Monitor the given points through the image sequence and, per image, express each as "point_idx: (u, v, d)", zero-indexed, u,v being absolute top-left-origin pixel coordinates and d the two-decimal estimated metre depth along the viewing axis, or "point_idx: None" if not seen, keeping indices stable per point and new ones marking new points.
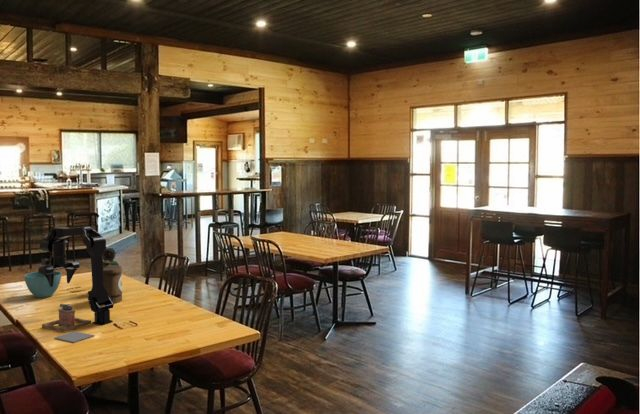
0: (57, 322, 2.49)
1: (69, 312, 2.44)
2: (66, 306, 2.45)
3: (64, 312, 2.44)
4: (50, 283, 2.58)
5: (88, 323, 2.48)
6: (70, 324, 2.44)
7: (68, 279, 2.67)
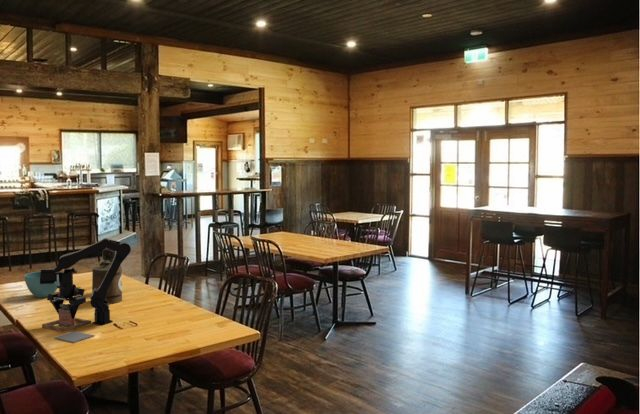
0: (57, 322, 2.49)
1: (69, 312, 2.44)
2: (66, 306, 2.45)
3: (64, 312, 2.44)
4: None
5: (88, 323, 2.48)
6: (70, 324, 2.44)
7: None
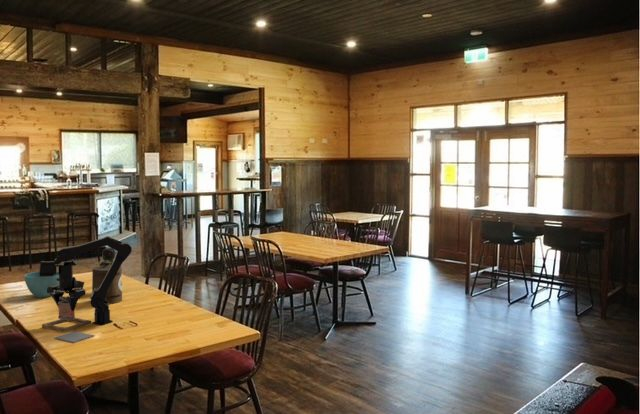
0: (57, 322, 2.49)
1: (69, 305, 2.44)
2: (66, 299, 2.44)
3: (64, 305, 2.44)
4: None
5: (88, 323, 2.48)
6: (70, 317, 2.44)
7: None
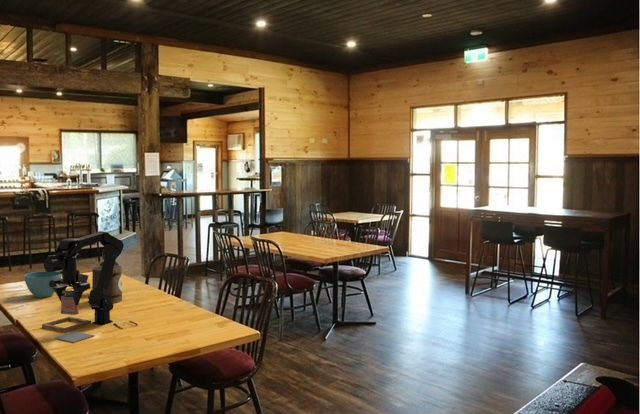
0: (57, 322, 2.49)
1: (72, 299, 2.33)
2: (69, 293, 2.34)
3: (67, 299, 2.33)
4: None
5: (88, 323, 2.48)
6: (73, 311, 2.33)
7: None
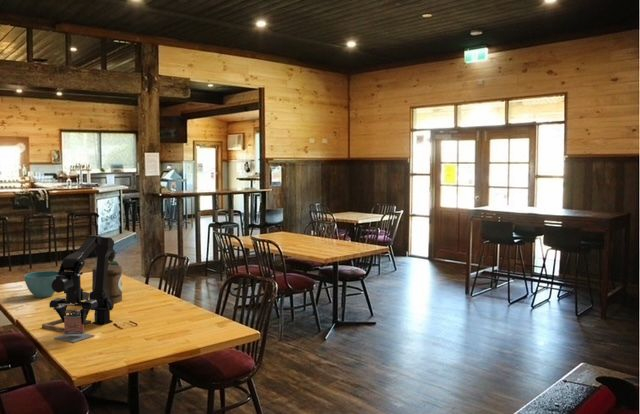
0: (57, 322, 2.49)
1: (78, 318, 2.28)
2: (74, 312, 2.28)
3: (72, 318, 2.28)
4: None
5: (88, 323, 2.48)
6: (79, 331, 2.29)
7: None
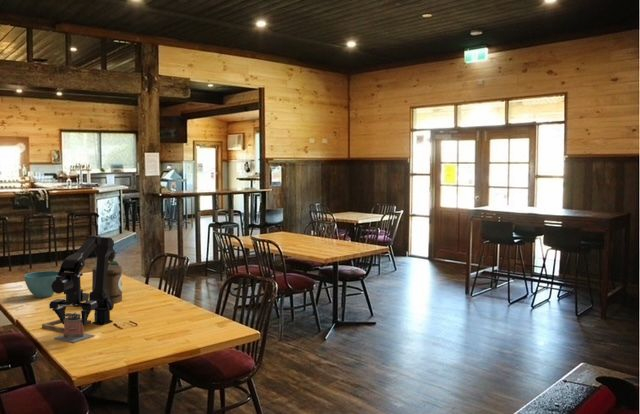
0: (57, 322, 2.49)
1: (78, 321, 2.28)
2: (74, 315, 2.28)
3: (72, 322, 2.28)
4: None
5: (88, 323, 2.48)
6: (79, 334, 2.29)
7: None
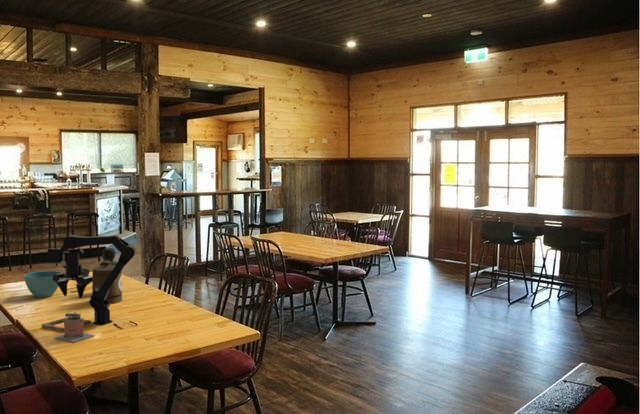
0: (57, 322, 2.49)
1: (78, 321, 2.28)
2: (74, 315, 2.28)
3: (72, 322, 2.28)
4: None
5: (88, 323, 2.48)
6: (79, 334, 2.29)
7: None
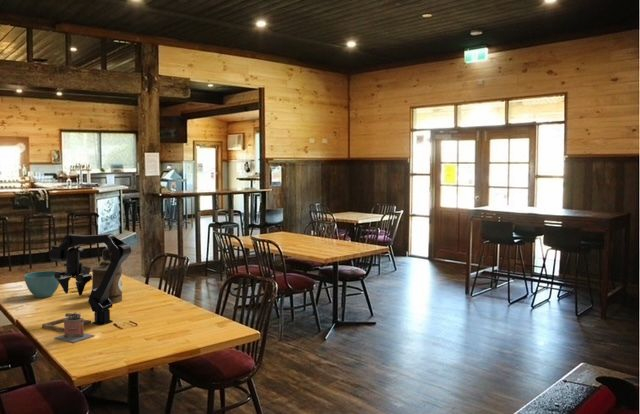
0: (57, 322, 2.49)
1: (78, 321, 2.28)
2: (74, 315, 2.28)
3: (72, 322, 2.28)
4: None
5: (88, 323, 2.48)
6: (79, 334, 2.29)
7: None
